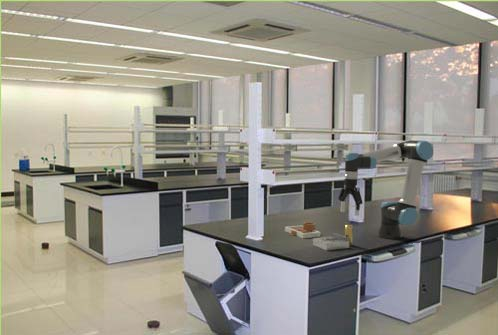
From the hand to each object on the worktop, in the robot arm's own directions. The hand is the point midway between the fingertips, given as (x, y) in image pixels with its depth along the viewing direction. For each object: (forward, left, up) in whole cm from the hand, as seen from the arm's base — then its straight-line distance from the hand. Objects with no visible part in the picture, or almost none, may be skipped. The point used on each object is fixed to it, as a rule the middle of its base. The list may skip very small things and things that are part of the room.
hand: (349, 213), depth 265 cm
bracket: (+9, -37, -20) cm, 43 cm away
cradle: (+10, -37, -19) cm, 43 cm away
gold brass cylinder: (0, 0, -19) cm, 19 cm away
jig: (+12, -1, -19) cm, 23 cm away
